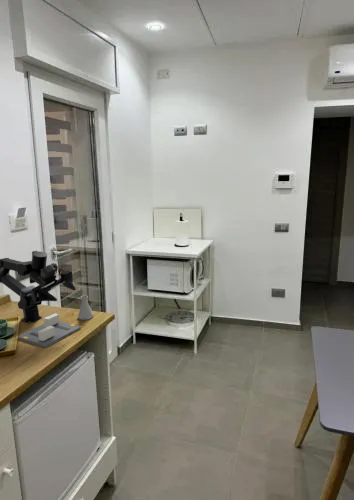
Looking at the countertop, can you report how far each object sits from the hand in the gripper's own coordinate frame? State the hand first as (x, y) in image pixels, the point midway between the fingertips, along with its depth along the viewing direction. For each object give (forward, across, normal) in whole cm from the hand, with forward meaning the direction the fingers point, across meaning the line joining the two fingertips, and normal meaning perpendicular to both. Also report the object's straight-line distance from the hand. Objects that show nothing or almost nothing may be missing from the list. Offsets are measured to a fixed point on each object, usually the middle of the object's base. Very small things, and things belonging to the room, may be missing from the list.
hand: (66, 294), depth 147 cm
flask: (-2, +10, +21) cm, 24 cm away
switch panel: (-1, -9, +16) cm, 18 cm away
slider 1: (-5, -4, +17) cm, 19 cm away
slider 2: (+3, -13, +12) cm, 18 cm away
